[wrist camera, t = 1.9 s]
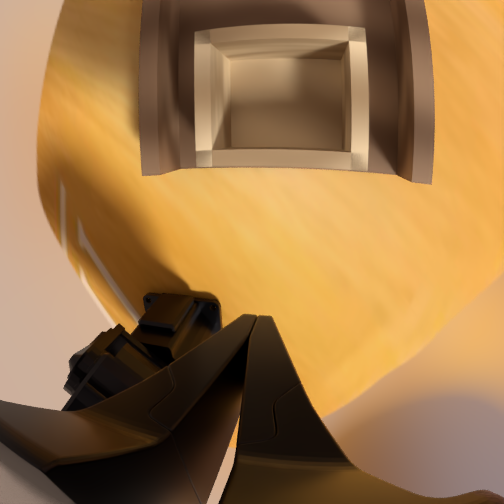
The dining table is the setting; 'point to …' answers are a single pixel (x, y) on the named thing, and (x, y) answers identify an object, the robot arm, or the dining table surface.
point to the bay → (291, 12)
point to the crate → (282, 96)
